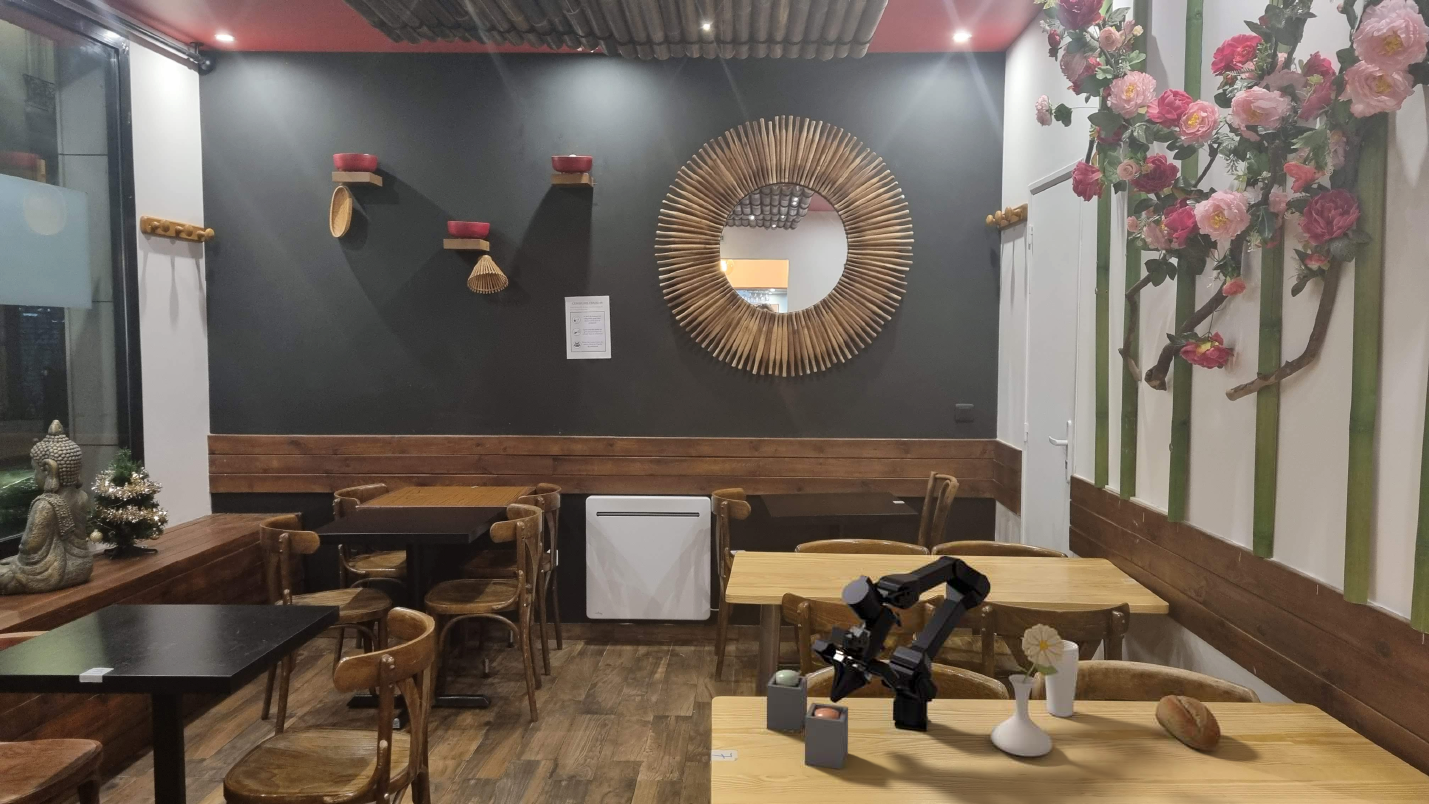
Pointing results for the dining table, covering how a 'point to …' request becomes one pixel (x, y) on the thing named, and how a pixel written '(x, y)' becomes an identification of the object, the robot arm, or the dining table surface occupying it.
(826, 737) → the grey square housing
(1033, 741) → the flower in vase
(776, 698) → the grey square socket
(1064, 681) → the drinking glass
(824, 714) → the terracotta button
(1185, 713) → the bread roll
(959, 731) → the dining table surface
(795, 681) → the sage button
